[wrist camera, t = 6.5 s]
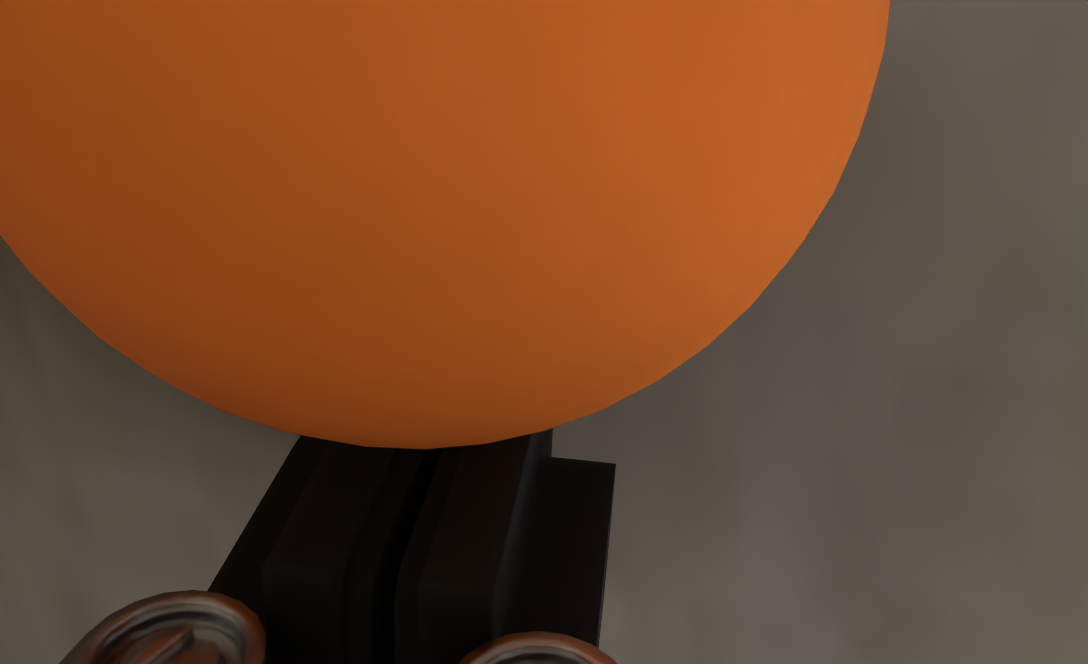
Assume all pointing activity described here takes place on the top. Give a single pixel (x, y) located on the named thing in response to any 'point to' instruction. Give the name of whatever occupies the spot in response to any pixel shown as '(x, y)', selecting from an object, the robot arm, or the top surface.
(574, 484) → the robot arm
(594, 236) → the ball
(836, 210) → the top surface
